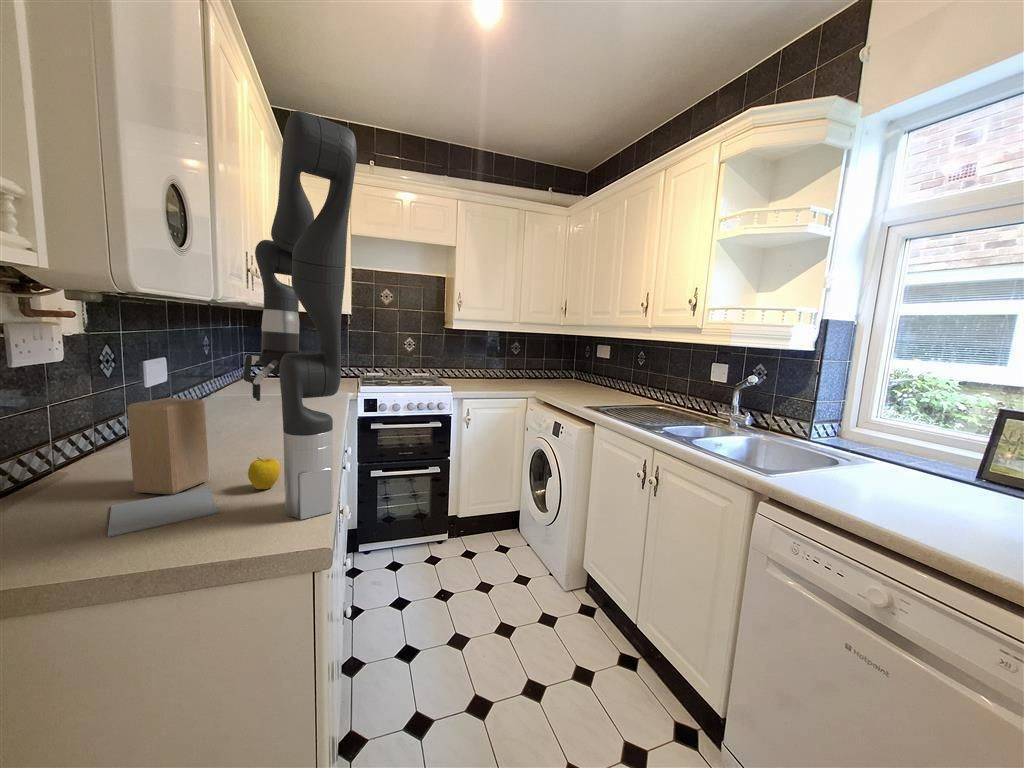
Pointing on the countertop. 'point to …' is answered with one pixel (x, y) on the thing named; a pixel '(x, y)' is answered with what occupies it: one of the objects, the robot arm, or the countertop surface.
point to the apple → (264, 473)
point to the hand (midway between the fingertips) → (279, 400)
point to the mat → (160, 511)
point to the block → (168, 445)
